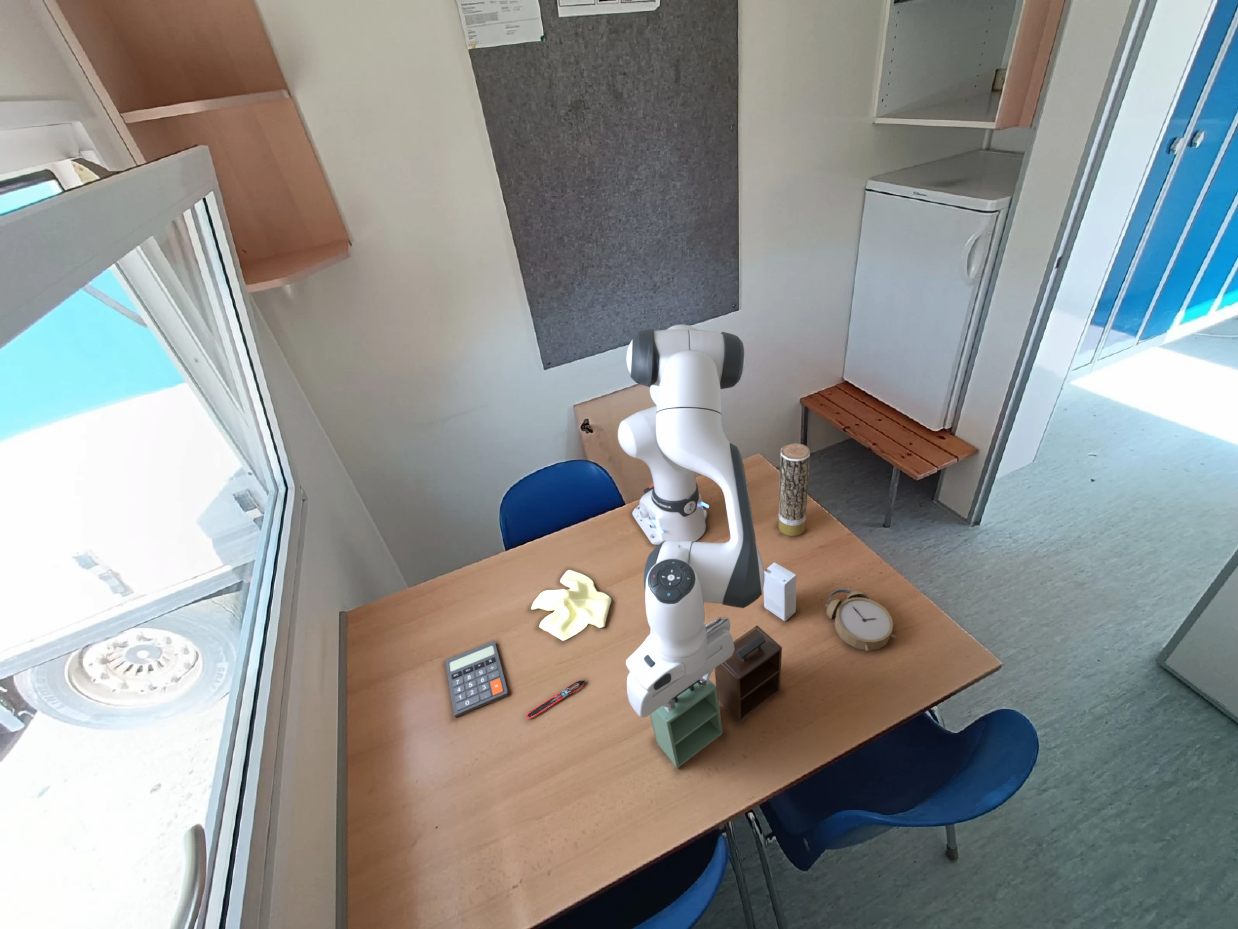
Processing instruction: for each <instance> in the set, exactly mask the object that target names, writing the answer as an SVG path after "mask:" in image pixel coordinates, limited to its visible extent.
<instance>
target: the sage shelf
mask: <svg viewBox="0 0 1238 929" xmlns="http://www.w3.org/2000/svg"><path fill="white" fill-rule="evenodd" d="M708 680H709V684H707V685H706V686H704V687H703V688H701V687H700V685H698V683H697V682H698V681H696V682H695V683H693V684H692V685H691V686H689V687H688V688H686V689H685V690H683V691H682V692H681V693H679V694H678V695H676V696H675V697H674V698H672V700H673V701H674V702H675V708H674V709H672V710H671V711H670V712H668V711H667V710H666V709H665V708H664V706H661V707H660V708H658V709H657V710H655V711H654V712H653V713H651V714H650V715H649V717H650V721H651V725H652V729H653V732H654V733H653V734H654V737H655V741H656V744H657V745H658V746H659V747H660V749H661V750H662V751H663V753H664V754H665V755H666V757H667V758H668V759H669V760H670V762H671V763H672V764H673V766H674V767H675V768H676V769H678V768H680V767H682V766H683V765H684V764H685V763H687V762H688V761H689V760H690V759H692V758H693V757H694V756H695V755H697V754H698V753H699V752H700V751H702V750H703V749H704V748H706V747H707V746H709V745H710V744H711V743H713V742H714V741H715V740H717V739H718V738H719V737H720V736H722V734H723V733H724V731H723V723H722V718H721V710H720V703H719V702H720V701H719V700H718V695H717V688H716V684H715V683H714V682H712V681H711V680H710V678H708Z"/></svg>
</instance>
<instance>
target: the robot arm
mask: <svg viewBox="0 0 1238 929" xmlns="http://www.w3.org/2000/svg"><path fill="white" fill-rule="evenodd" d="M625 360H626V367H627V370H628V372H629V376H630V378H631V380H632V381H634V383H636V384H639V385H641V386H644V387H647V388H649V395H650V398H651V400H652V402H653V403H654V405H653V406H651V407H648V408H644V409H642V410H639V411H635V413H633V414H631V415H629V416H627V417H626V418H624V419H622V420H621V421H620V423H619V426H618V429H617V439H618V440H617V441H618V443H619V446H620V447H621V449H622V450H623V452H625V454H626V455H628V456H629V457H631V458H634V459H638V460H641V461H642V462H643V463H645V465H647V467H648V468H649V470H650V473H651V477H652V482H651V483H650V484H648V487H646V488H644V489H643V493H644V494H643V495H642V496H641V497H640V499H639V503H638V505H637V506H636V507H634V509H633V510H632V517H633V518H634V520H635V521H636V523H637V524H638V526H639V528H641V530H642V531H643V533H644V535H645V536H646V537H647V539H648V540H649V542H650V543H651V545H655V546H656V547H655V548H654V549H652V551H651V552H650V553H649V555H648V557H647V559H646V562H645V566H644V571H643V587H644V593H645V594H644V595H645V596H644V597H645V598H644V602H645V613H646V620H647V624H648V626H649V628H650V632H649V634H648V635H647V637H646V638H645V640H644V641H643V642H642V643H641V645H640V646H639V647H638V648H637V649H636V650H635V651H634V652H633V653H631V655H630V656H628V658H627V659H626V661H625V665H626V668H627V670H628V671H629V673H628V674H627V677H626V693H627V699H628V702H629V705H630V706H631V708H632V709H633V712H635V713H636V714H637V716H638V717H640V718H647V717H649V716H650V714H651V713H653V712H654V711H655V710H657V709H658V708H660V707H661V706H664V708H665V709H666V710H667V711H668V712H670V711H671V710H672V709H674V708H675V702H674V701H673V700H672V698H674V697H675V696H676V695H678V694H679V693H681V692H682V691H683V690H685V689H686V688H688V687H689V686H691V685H692V684H693V683H695V682H696V681H698V682H697V683H698V685H700V687H701V688H703V687H704V686H706V685H707V684H709V680H710V677H711V675H712V673H713V671H714V670H715V668H716V667H717V666H719V665H720V664H722V663H723V662H724V661H726V660H727V659H729V658H730V657H731V656H732V654H733V653H734V643H733V642H734V638H733V636H732V633H731V632H730V630H731V620H730V619H729V618H728V617H727V616H725V617H724V616H723V617H717V618H716V619H714V620H712V621H710V622H709V623H707V624H706V625H705V619H706V611H705V603H707V604H719V605H720V604H721V605H722V606H727V607H732V608H739V609H745V608H747V607H748V606H750V605H751V604H753V603H755V602H756V601H757V600H758V599H759V598H761V596H762V595H763V592H764V582H765V574H764V571H765V569H764V568H765V567H764V563H763V559H762V557H761V553H760V551H759V547H758V545H757V540H756V533H755V525H754V518H753V512H752V505H751V500H750V494H749V493H750V492H749V488H748V482H747V476H746V472H745V465H744V461H743V458H742V454H741V451H740V449H739V447H738V446H736V445H735V444H733V443H732V442H730V441H729V440H728V438H727V436H726V433H725V432H724V431H725V430H724V428H723V424H722V423H723V422H722V409H723V408H722V407H723V406H722V390H725V389H731V388H734V387H735V386H736V385H737V384H738V383H739V382H740V381H741V378H742V375H743V373H744V371H745V367H746V361H747V358H746V350H745V347H744V342H743V340H741V339H740V337H739V336H738V335H737V334H733V333H729V332H725V331H721V332H716V331H711V330H703V329H697V328H695V327H693V326H692V325H688V324H683V323H682V324H675V325H671V326H669V327H667V329H660V330H659V329H658V330H654V328H649V329H644V330H643V329H642V330H639V331H637V332H636V333H635V334H634V335H633V336H632V339H631V341H630V342H629V344H628V347H627V350H626V357H625ZM696 473H697V474H699V475H702V476H704V477H706V478H708V479H709V480H712V481H713V482H715V483H716V484H717V485H718V486H719V488H720V489H721V491H722V493H723V496H724V502H725V508H726V515H727V522H728V528H729V535H730V539H729V540H727V541H726V542H707V541H706V542H705V541H698V540H699V539H700V538H702V537H703V535H704V534H705V532H706V528H707V526H706V525H707V524H706V519H707V517H708V512H707V510H706V509H704V507H705V508H707V509H709V507H710V505H709V504H707V503H705V502H704V501H703V500H702V495H701V493H700V489H699V485H698V483H697V475H696ZM708 679H709V680H708Z"/></svg>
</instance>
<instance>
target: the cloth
mask: <svg viewBox="0 0 1238 929" xmlns="http://www.w3.org/2000/svg"><path fill="white" fill-rule="evenodd" d="M559 582H560V584H562V585H563V586H564V587H567V588H569V589H564V588H560V589H547V590H543V591H542V592H539V595H538V596H537V597H535V598H536V599H535V600H534V601H533V603H532V604H531V607H530V609H531V610H532V611H533V610H537V609H540V610H542V611H547V612H552V611H553V612H552V613H549V614H548V615H547V616H545V617H544V618H543V619H542V620H541V621H540V623H539V626H538V627H539V628H540V629H541V630H543V631H544V632H547V633H548V634H550V635H552V636H553V637H555V638H557V639H559V640H561V641H562V642H564V641H567V640H569V639H570V638H572V637H574V636H576V635H577V634H579V633H581V632H582V631H583V630H584V629H586V627H587V626H588V625H592V626H595V627H597V628H598V629H600V628H601V629H602V628H604V627H606V623H607V617H608V615H609V610H610V606H611V604H612V598H611V597H610V596H609V595H607V594H606V593H605V592H602V591H598V590H597V589H596V587H595V583H594V581H593V580H592V579H591V578H590V577H588V576H587V575H584V574H582V573H580V572H577V571H575V570H571V569H567V570H566V571H565V573H563V575H562V576H561V578H560V580H559Z"/></svg>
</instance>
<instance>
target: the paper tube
mask: <svg viewBox="0 0 1238 929" xmlns="http://www.w3.org/2000/svg"><path fill="white" fill-rule="evenodd" d="M810 460H811V451H810V448H809V447H808V446H807V445H805V444H802V443H795V442H794V443H788V444H785V445H783V446H782V447H781V449H780V454H779V486H778V487H779V488H778V489H779V490H778V523H777V524H778V525H777V526H778V530H779V531H780V532H781V533H782V534H783V535H785V536H788V537H796V536H797V537H798V536H800V535H802V534H803V533H804V532H805V530H806V522H807V521H806V520H807V505H808V504H807V503H808V488H809V474H810Z"/></svg>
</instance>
